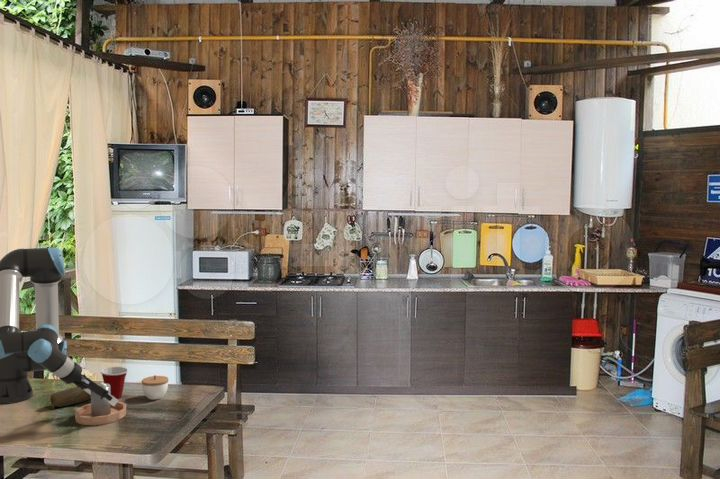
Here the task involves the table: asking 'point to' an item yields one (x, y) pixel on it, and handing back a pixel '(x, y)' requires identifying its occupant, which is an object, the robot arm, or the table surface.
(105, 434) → the table surface
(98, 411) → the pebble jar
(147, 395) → the lidded jar
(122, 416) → the terracotta bowl
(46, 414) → the table surface
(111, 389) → the plastic cup
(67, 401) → the stone weight
